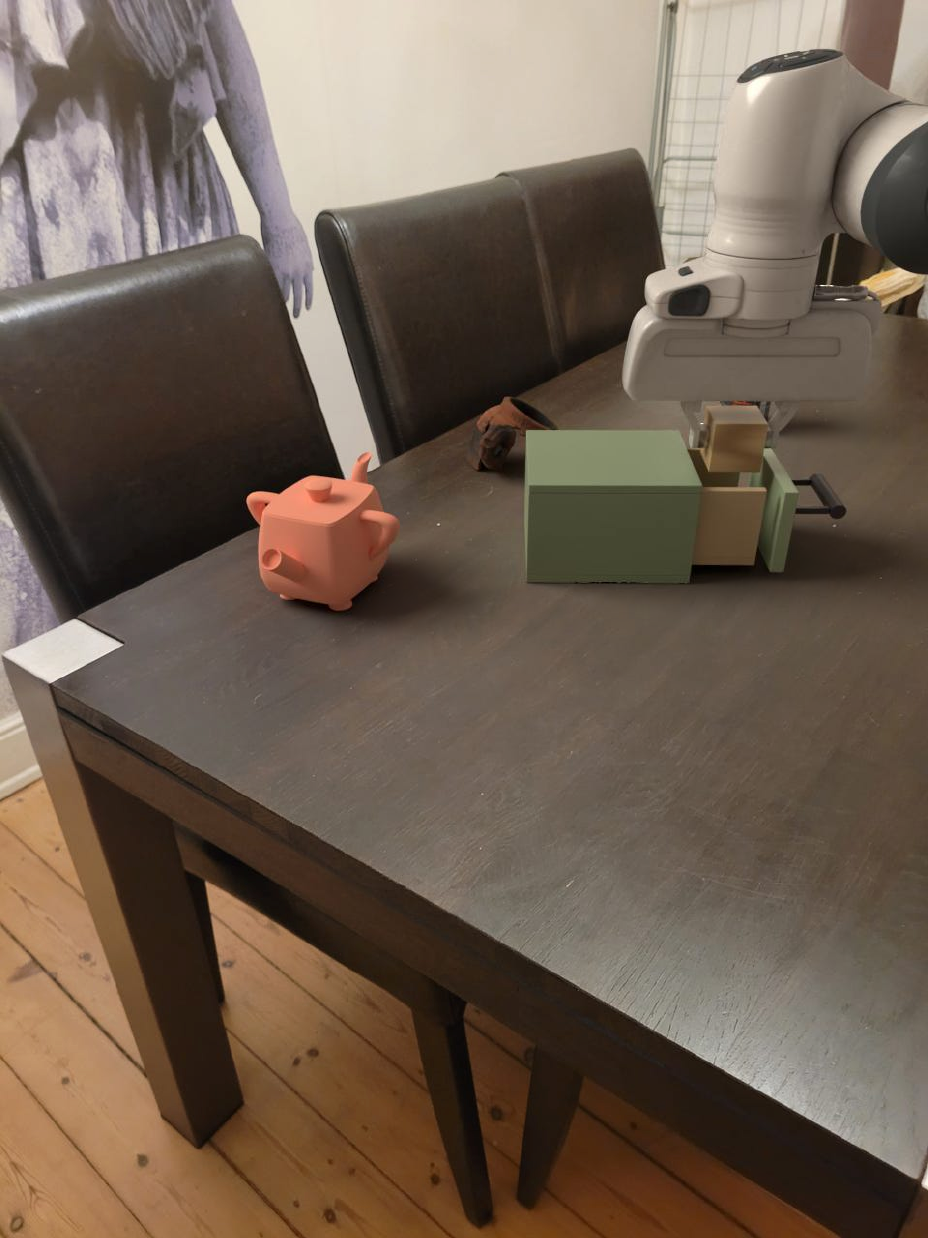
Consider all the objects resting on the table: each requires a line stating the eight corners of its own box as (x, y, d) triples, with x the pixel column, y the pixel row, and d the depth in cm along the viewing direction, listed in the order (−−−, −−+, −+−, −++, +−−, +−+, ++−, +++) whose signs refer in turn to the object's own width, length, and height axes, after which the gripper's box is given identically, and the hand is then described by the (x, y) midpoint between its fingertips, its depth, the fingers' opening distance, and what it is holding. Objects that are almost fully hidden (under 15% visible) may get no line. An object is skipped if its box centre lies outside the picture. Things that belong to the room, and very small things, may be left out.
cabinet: (668, 520, 93) (679, 429, 88) (689, 583, 83) (702, 485, 78) (523, 519, 94) (526, 429, 89) (526, 582, 83) (528, 484, 78)
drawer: (807, 515, 92) (823, 441, 88) (842, 572, 82) (861, 492, 78) (618, 514, 93) (624, 440, 88) (631, 571, 83) (638, 491, 79)
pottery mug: (473, 446, 111) (508, 386, 108) (537, 490, 111) (575, 431, 107) (440, 459, 101) (477, 393, 97) (510, 508, 100) (551, 443, 96)
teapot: (412, 615, 79) (407, 508, 74) (272, 639, 76) (256, 529, 71) (377, 541, 90) (370, 443, 85) (254, 560, 88) (239, 460, 82)
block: (749, 452, 85) (756, 405, 83) (760, 472, 81) (768, 423, 79) (699, 452, 85) (706, 405, 83) (708, 472, 81) (715, 423, 79)
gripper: (874, 275, 77) (839, 433, 85) (627, 276, 78) (614, 432, 85) (901, 295, 72) (861, 460, 79) (635, 295, 73) (621, 459, 80)
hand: (731, 446), depth 82 cm, fingers closed on block, 4 cm apart
